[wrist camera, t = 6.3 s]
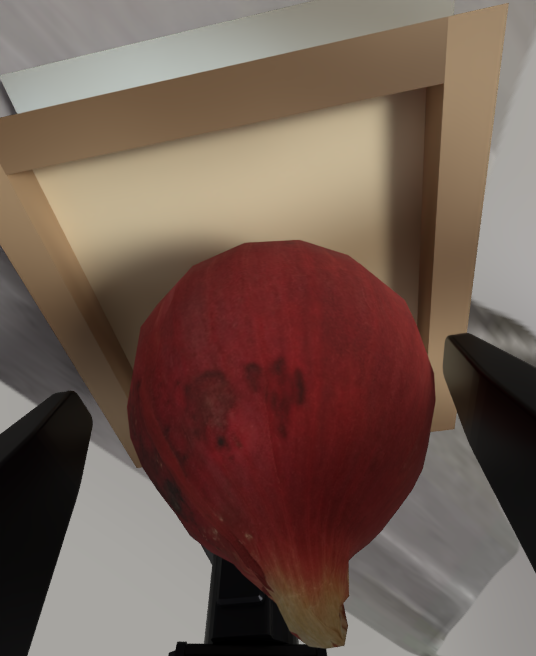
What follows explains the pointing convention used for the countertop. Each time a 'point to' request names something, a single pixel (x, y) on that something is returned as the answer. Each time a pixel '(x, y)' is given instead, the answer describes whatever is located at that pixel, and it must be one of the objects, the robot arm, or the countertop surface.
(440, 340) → the tan square tray
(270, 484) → the onion
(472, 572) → the countertop surface
